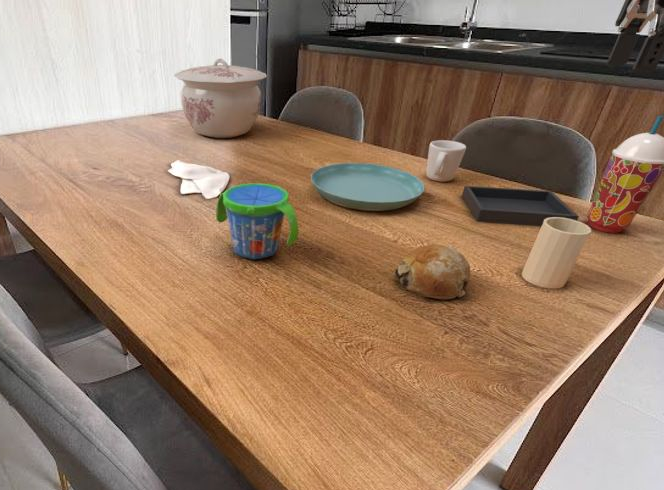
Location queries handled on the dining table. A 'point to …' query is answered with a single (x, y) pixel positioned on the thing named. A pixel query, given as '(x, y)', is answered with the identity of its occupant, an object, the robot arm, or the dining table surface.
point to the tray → (514, 205)
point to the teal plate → (366, 186)
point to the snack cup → (256, 218)
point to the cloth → (200, 179)
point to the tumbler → (555, 252)
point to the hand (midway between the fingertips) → (628, 68)
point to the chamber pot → (221, 98)
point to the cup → (444, 160)
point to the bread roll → (434, 272)
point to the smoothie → (627, 181)
